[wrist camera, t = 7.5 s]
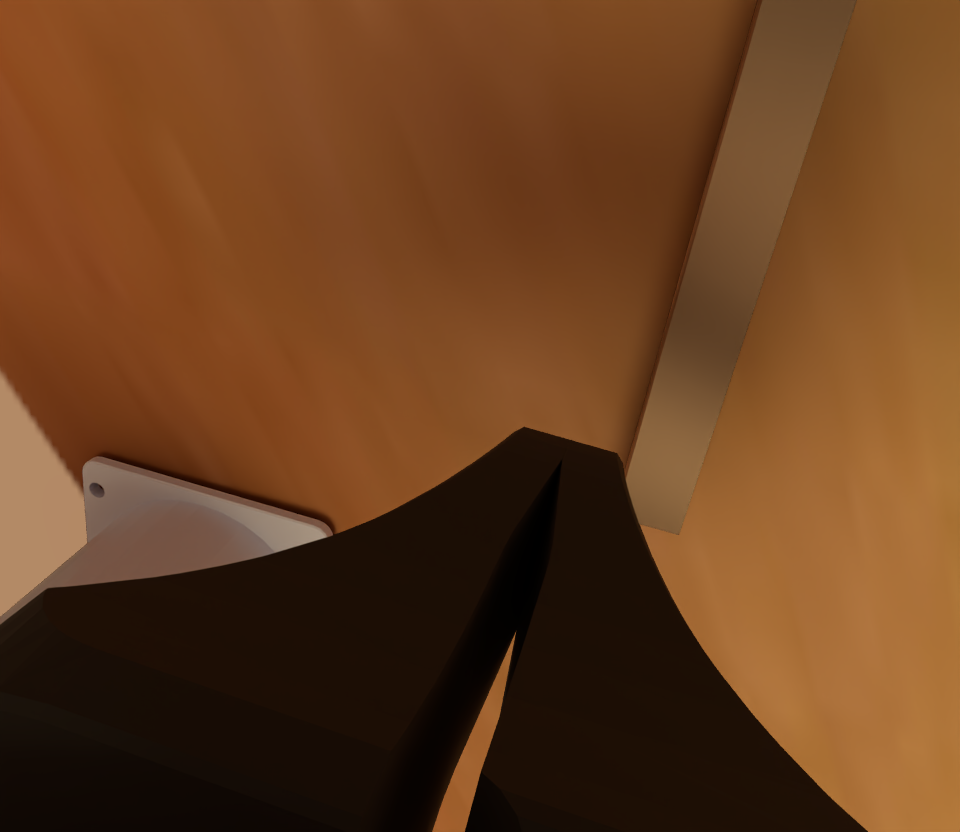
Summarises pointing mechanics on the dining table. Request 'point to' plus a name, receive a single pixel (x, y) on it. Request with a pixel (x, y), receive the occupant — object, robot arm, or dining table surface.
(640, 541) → the robot arm
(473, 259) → the dining table surface
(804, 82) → the flange channel
